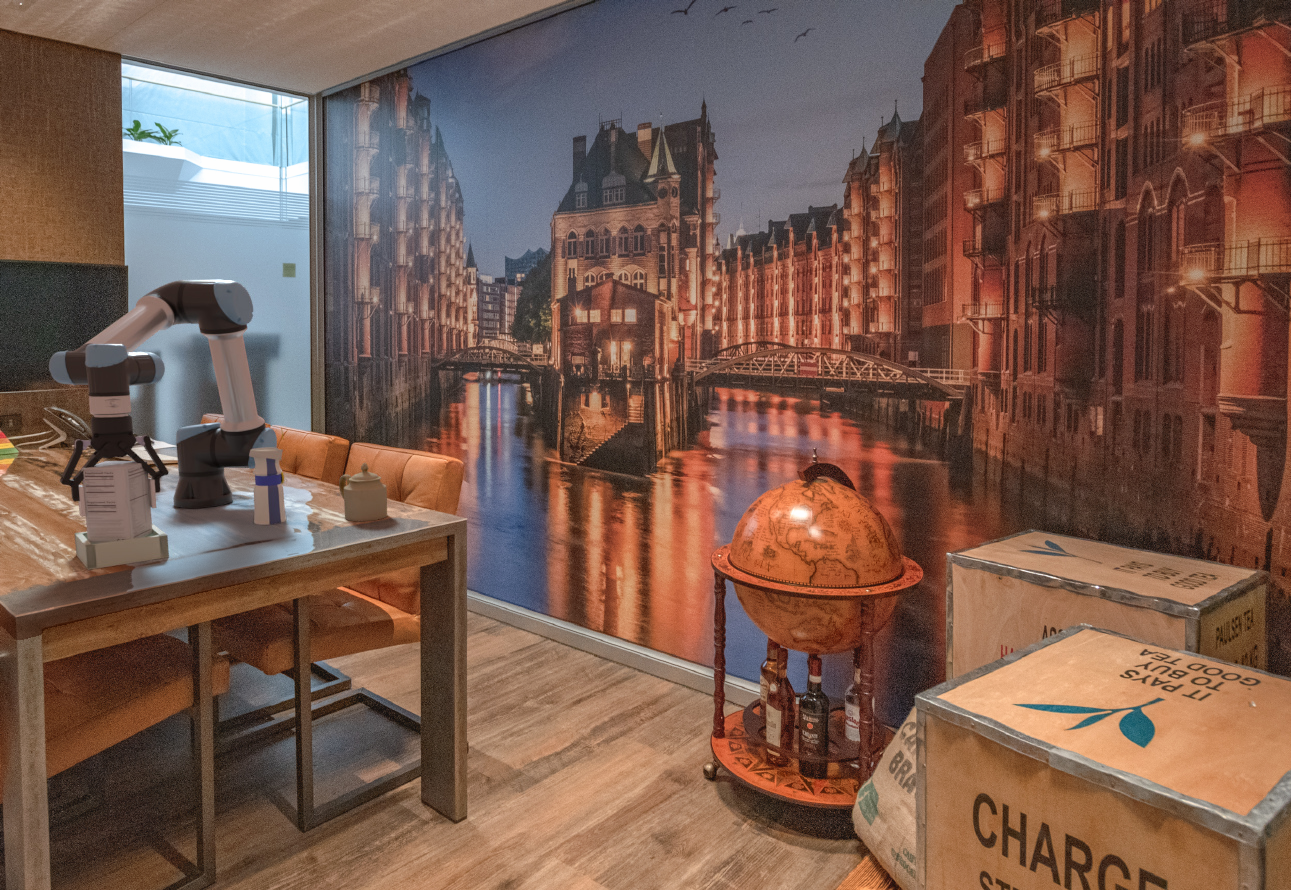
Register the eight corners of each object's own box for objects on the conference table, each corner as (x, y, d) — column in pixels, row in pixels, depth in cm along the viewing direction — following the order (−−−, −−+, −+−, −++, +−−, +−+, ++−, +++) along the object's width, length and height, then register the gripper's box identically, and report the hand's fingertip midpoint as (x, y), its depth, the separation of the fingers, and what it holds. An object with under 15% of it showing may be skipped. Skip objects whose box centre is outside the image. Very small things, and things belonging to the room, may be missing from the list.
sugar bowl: (323, 520, 215) (321, 465, 213) (343, 511, 226) (340, 458, 224) (376, 522, 214) (374, 466, 212) (394, 513, 225) (392, 460, 223)
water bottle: (280, 516, 220) (275, 425, 216) (292, 521, 214) (287, 427, 210) (248, 520, 214) (243, 427, 210) (260, 526, 208) (254, 430, 204)
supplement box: (111, 533, 183) (105, 460, 181) (154, 533, 184) (148, 460, 182) (86, 544, 174) (79, 467, 171) (131, 544, 174) (125, 467, 172)
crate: (153, 543, 190) (151, 523, 189) (169, 556, 179) (167, 535, 178) (76, 555, 180) (74, 533, 179) (88, 569, 169) (86, 546, 168)
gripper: (43, 420, 164) (52, 522, 167) (179, 413, 181) (185, 506, 184) (38, 417, 169) (47, 516, 172) (171, 410, 186) (177, 501, 189)
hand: (118, 511), depth 178 cm, fingers closed on supplement box, 13 cm apart
